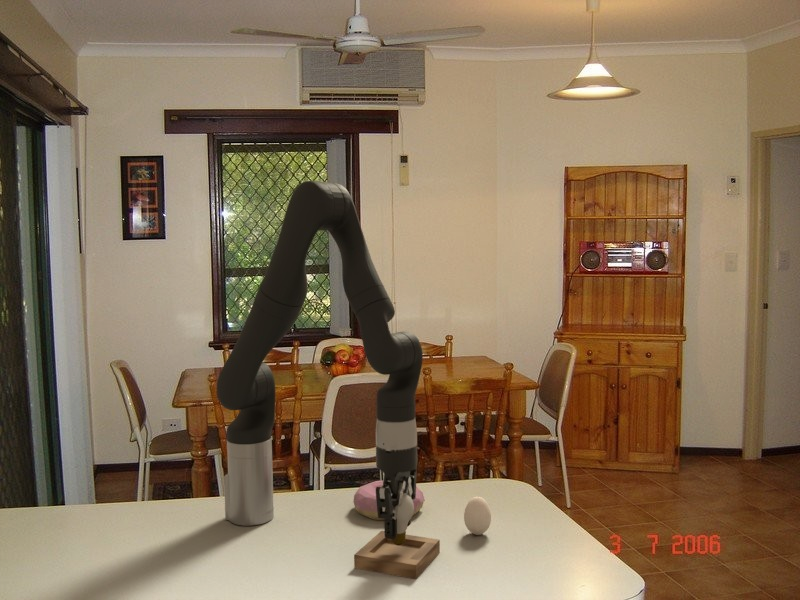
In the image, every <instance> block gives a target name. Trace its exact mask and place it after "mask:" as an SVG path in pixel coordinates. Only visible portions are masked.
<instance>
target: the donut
mask: <svg viewBox="0 0 800 600" xmlns="http://www.w3.org/2000/svg"><path fill="white" fill-rule="evenodd" d="M382 486H383V480H376V481H373V482H369V483H367V484H363V485H361V486H359V487H358V489H357V490H356V492H355V493H354V494H353V504H354V508H355V510H356V512H358V513H359V514H360V515H362V516H363V517H364V516H365V517H366V518H370V519H372V520H378V521H384V519H383V518H378V513H377V501H376V487H382ZM425 500H426V499H425V496H424V493H423V491H422V490H421V489H419V487H418V486H416V497H415V499H412V501H413V504H414V512H413V515H412V517H413V516H414V515H415V514H417V513H418V512H419V511H421V509H422V508H423V506H424V502H425Z"/></svg>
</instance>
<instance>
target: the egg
mask: <svg viewBox="0 0 800 600" xmlns="http://www.w3.org/2000/svg"><path fill="white" fill-rule="evenodd" d="M463 521H464V524H465V528H467V530H468V531H469V532H470V534H472V535H476V536H481V535H483V534H484V533H486V532H487V531H488V529H489V528H490V525H491V522H492V513H491V509H490V506H489V504H488V502H487V501H486V500H485V499H484V498H483V497H480V496H474V497H472V498H470V500H469V501H468V502H467V504H466V506H465V508H464V512H463Z"/></svg>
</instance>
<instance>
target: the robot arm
mask: <svg viewBox="0 0 800 600" xmlns="http://www.w3.org/2000/svg"><path fill="white" fill-rule="evenodd" d="M286 207H287V208H286V211H285V213H284V214H285V215H284V218H283V222H282V224H281V225H282V226H281V228H280V233H279V236H278V238H277V242H276V244H275V246H274V247H275V248H274V250H273V253H272V255H271V257H270V261H269V263H268V266H267V269H266V271H265V274H264V276H263V278H262V281H261V282H260V284H259V287H258V289H257V291H256V294H255V297H254V299H253V303H252V305H251V308H250V311H249V313H248V315H247V317H246V320H245V322H244V324H243V327H242V329H241V331H240V334H239V337H238V338H237V340H236V343H235V344H234V346H233V349H232V351H231V352H230V354H228V355H229V356H228V358H227V359H226V361H225V363H224V364H223V366H222V368H221V371H220V372H219V375H218V377H217V381H216V386H215V387H216V391H215V392H216V396H217V399H218V402H219V404H220V405H221V406H222V407H223V408H225V409H227V410H230V411H239V413H238V414H237V416H236V417H235V418H234V420H233V421H231V422H229V425H227V427H226V452H227V453H226V454H227V473H226V474H225V475H224V477H223V486H224V487H223V488H224V490H223V491H224V511H225V512H224V514H225V515H224V516H225V520H226V521H229V522H230V523H232V524H235V525H236V526H237V525H238V526H244V527H246V526H258V525H262V524H265V523H268V522H270V521H271V520H273V518H274V513H275V512H274V509H275V507H274V483H273V482H274V478H273V476H274V475H273V471H274V470H273V444H272V442H273V441H272V430H273V428H274V424H275V420H276V382H275V376H274V374H273V371H272V370H271V368H270V367H269V365H268V364H267V363H265V362H264V360H265V359H266V357H267V356H268V355H269V353H271V351H273V349H274V347H276V346H277V345H278V343H279V342H280V341H282V340H283V338H284V337H285V336H286V335H287V334H288V333H289V331H290V330H291V329H292V327H293V326H294V325H295V323H296V321H297V319H298V318H299V315H300V313H301V310H302V308H303V305H304V303H305V302H306V301H305V300H306V298H307V294H308V289H309V288H308V286H309V285H308V276H307V269H306V263H307V262H306V261H307V255H308V252H309V250H310V248H311V245H312V242H313V240H314V238H315V236H316V234H317V233H318V231H319V232H320V231H321V232H322V231H325V232H328V233H329V234H330V236H331V237H332V239H333V240H334V242H335V243H336V245H337V248H338V251H339V253H340V259H341V272H342V273H341V275H342V277H341V278H342V285H343V290H344V292H345V293H344V294H345V296H346V298H347V301H348V303H349V306H350V307H351V310H352V311H353V313H354V315H355V317H356V319H357V321H358V324H359V331H360V337H361V341H362V346H363V350H364V355H365V359H366V360H367V362H368V364H369V365H370V367H371V368H372V369H373V370H374V371H375V373H378V374H379V375H383V376H386V375H387V376H388V379H387V381H386V382H385V384H383V385H382V386H380V387H379V388H378V389H377V392H376V423H375V463H376V464H375V465H376V468H377V469H378V470H379V471H381V472H382V473H383V480H382V481H383V486H382V487H376V501H377V513H378V518H383V519H384V520H383V521H384V522H383V523H384V524H383V525H384V530H383V531H384V533H385V538H387V539H395V538H396V537H397V512H398V507H400V506H401V503H402V496H403V493H406V494H407V495H409V496H410V498H411V499H415V497H416V487H417V473H418V469H417V467H418V430H417V429H418V428H417V421H416V394H417V389H418V387H419V386H418V385H419V380H420V376H421V370H422V367H423V358H424V357H423V348H422V344H421V342H420V340H419V338H418V337H417V336H416V335H415V334H413V332H410V331H397V332H395V333H391V330H390V326H389V322H390V321H392V319H394V317H395V314H396V312H395V311H396V309H395V307H394V305H393V302H392V301H391V299H390V296H389V294H388V292H387V290H386V288H385V285H384V284H383V282H382V280H381V278H380V276H379V274H378V271H377V269H376V267H375V265H374V262H373V260H372V257H371V254H370V251H369V248H368V244H367V240H366V238H365V235H364V232H363V228H362V225H361V223H360V219H359V216H358V213H357V210H356V206H355V204H354V201H353V198H352V196H351V194H350V193H349V191H348V189H347V188H346V187H345V186H344V185H342V184H339V183H337V182H331V181H320V180H319V181H318V180H307V181H303V182H301V183H300V184H299V185H298V186H296V187H295V189H294V190H293V192H292V194H291V197H290V199H289V202H288V204H287V206H286ZM392 499H397V500H396V501H392ZM392 505H393V510H392ZM382 507H383V509H382ZM411 519H412V518H411ZM411 519H410V520H409V522H408V526H407V528H408V527H409V526H410V525H411Z"/></svg>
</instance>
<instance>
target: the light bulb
mask: <svg viewBox="0 0 800 600" xmlns="http://www.w3.org/2000/svg"><path fill="white" fill-rule="evenodd" d="M396 500H397V499H392V501H396ZM382 509H383V507H382ZM392 510H393V505H392ZM413 512H414V504H413V501H412V499H411V498H410V496H409V495H407V494H406V493H403V496H402V503H401V506H400V507H398V512H397V537H396V538H395V539H391V541H392V542H393V543H394V544H395V545H398V546H399V545H401V544H402V543H404V542H405V539H406V535H407V529H408V527H409V526H408V522H409V520H410V519H412V517H413V516H414V515H413ZM412 515H413V516H412ZM407 526H408V527H407Z"/></svg>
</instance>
